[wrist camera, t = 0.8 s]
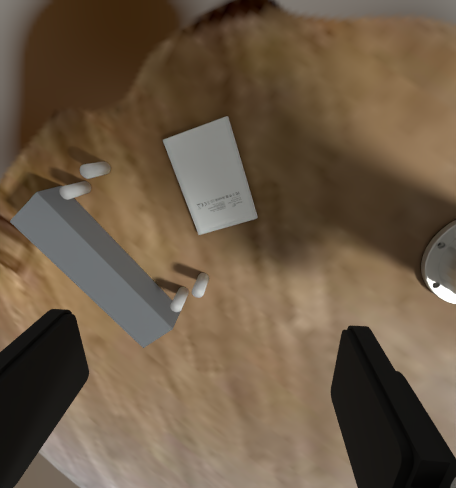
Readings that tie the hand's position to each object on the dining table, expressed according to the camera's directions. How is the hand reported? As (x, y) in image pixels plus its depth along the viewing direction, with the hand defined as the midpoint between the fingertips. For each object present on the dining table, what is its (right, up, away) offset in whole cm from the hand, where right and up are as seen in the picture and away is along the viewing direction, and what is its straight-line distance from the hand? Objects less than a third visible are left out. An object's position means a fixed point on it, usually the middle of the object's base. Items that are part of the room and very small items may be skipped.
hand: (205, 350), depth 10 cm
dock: (-13, +3, +29) cm, 32 cm away
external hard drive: (-1, +12, +25) cm, 28 cm away
